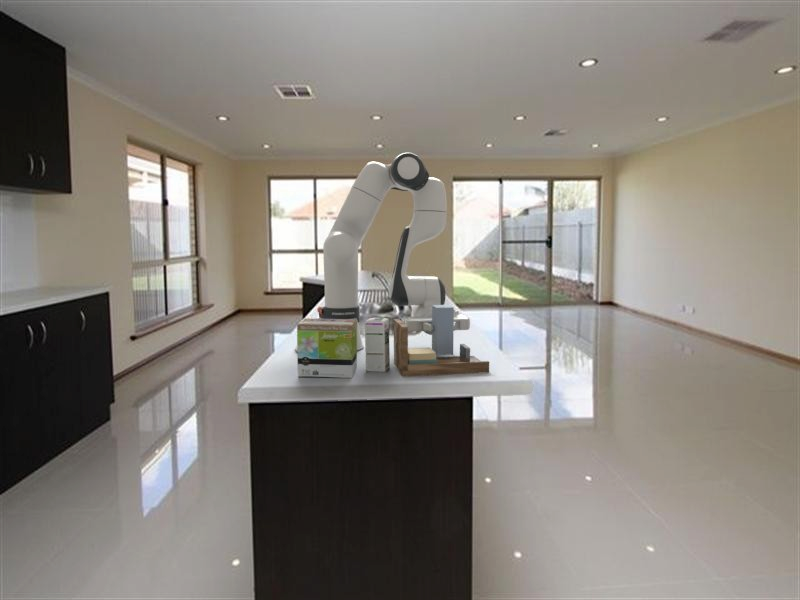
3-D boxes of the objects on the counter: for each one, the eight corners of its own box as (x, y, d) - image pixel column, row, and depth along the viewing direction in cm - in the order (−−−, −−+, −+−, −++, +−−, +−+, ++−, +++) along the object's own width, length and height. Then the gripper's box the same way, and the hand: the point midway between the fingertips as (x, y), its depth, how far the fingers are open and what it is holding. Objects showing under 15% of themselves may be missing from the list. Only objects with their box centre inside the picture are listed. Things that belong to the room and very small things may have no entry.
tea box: (297, 378, 143) (295, 323, 141) (305, 368, 153) (304, 317, 151) (353, 378, 142) (352, 323, 141) (357, 369, 152) (357, 317, 151)
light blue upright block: (436, 355, 156) (436, 307, 155) (431, 350, 162) (432, 305, 160) (453, 354, 157) (453, 307, 155) (447, 350, 163) (448, 304, 161)
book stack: (403, 361, 155) (403, 347, 155) (430, 360, 156) (430, 346, 156) (409, 368, 147) (409, 354, 147) (437, 367, 148) (437, 352, 148)
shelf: (393, 364, 158) (393, 318, 156) (473, 360, 162) (474, 316, 161) (402, 376, 144) (402, 327, 143) (489, 372, 149) (490, 324, 147)
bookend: (459, 360, 156) (459, 343, 155) (477, 360, 157) (477, 343, 156) (465, 365, 150) (466, 348, 149) (484, 364, 151) (484, 347, 150)
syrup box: (385, 372, 149) (385, 320, 147) (365, 371, 150) (364, 320, 148) (390, 367, 154) (389, 317, 153) (370, 366, 156) (369, 317, 154)
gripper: (400, 311, 170) (408, 318, 156) (462, 309, 173) (475, 316, 160) (400, 331, 170) (408, 339, 157) (461, 329, 174) (475, 337, 161)
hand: (442, 328), depth 158 cm, fingers closed on light blue upright block, 5 cm apart
